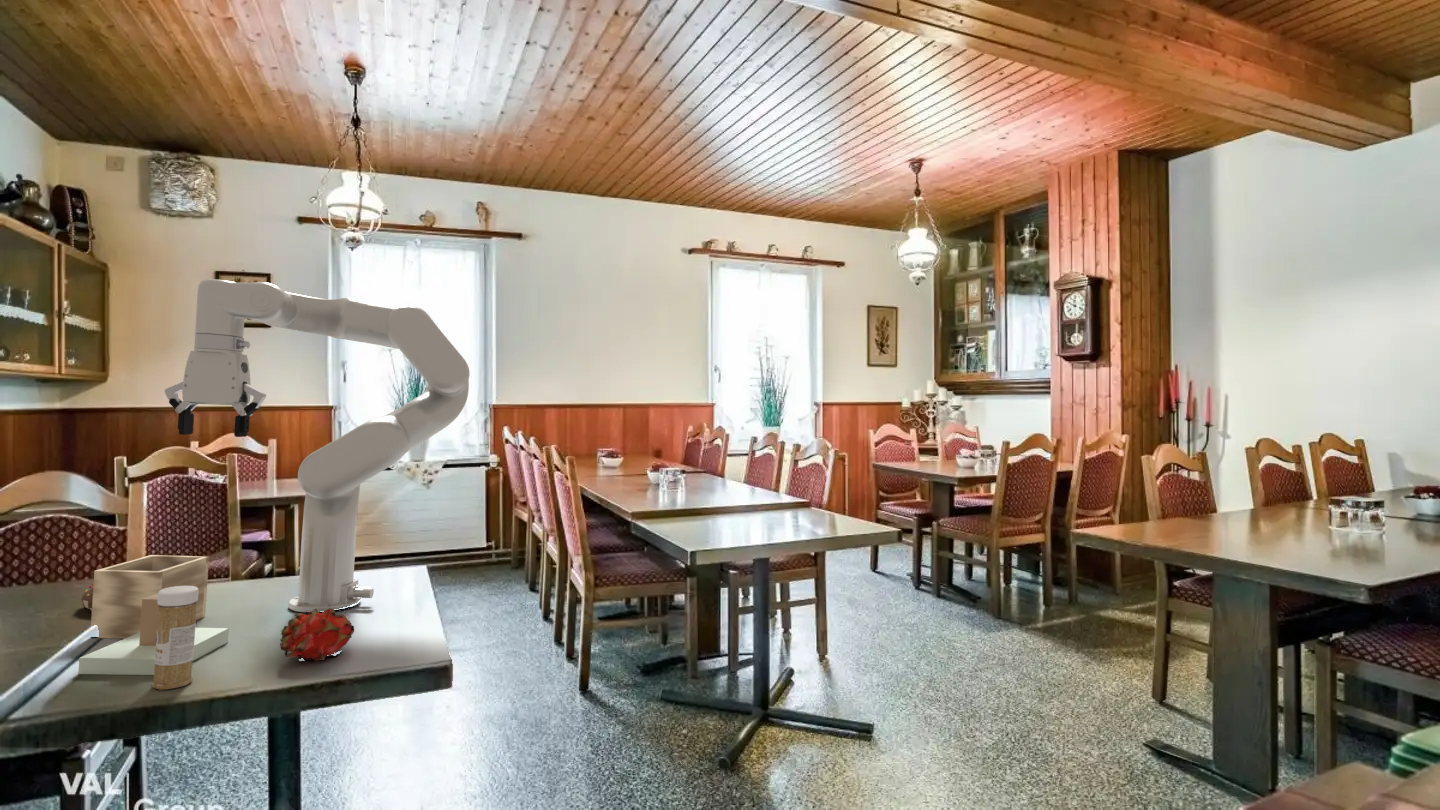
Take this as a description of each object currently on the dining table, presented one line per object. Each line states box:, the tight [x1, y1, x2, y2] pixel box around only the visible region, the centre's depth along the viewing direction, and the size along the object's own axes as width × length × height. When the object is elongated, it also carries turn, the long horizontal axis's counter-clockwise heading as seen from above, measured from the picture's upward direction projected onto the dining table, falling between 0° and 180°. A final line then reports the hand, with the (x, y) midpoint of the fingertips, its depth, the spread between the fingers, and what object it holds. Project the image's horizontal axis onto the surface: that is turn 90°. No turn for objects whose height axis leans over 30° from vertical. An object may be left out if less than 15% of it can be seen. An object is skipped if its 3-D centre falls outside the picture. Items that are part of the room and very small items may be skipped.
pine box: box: [90, 554, 210, 639], centre depth 124 cm, size 10×13×11 cm
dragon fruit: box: [279, 608, 355, 661], centre depth 113 cm, size 8×8×12 cm
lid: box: [77, 594, 230, 676], centre depth 110 cm, size 12×15×9 cm
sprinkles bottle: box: [151, 586, 199, 690], centre depth 100 cm, size 5×5×13 cm
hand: (213, 435), depth 135 cm, fingers open, 9 cm apart
